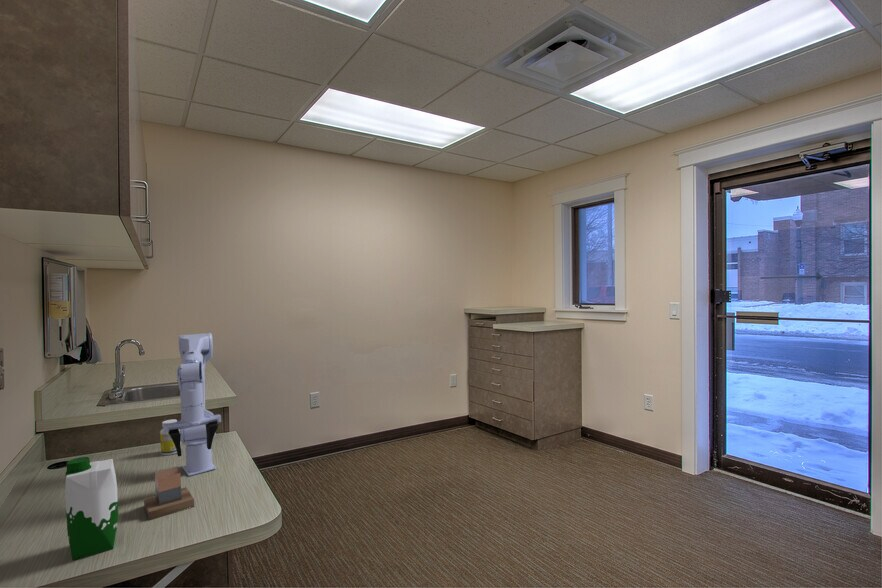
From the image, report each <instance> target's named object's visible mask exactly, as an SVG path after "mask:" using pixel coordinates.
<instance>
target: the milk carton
mask: <svg viewBox="0 0 882 588" xmlns="http://www.w3.org/2000/svg"><path fill="white" fill-rule="evenodd" d="M90 460H91V459H90V457H88V456H82V457H76V458H73V459H71V460H68V461H67V462H66V465H65V466H66V471H65V511H66V531H67V539H68V545H69V549H70V554H71V559H72V561H74V560H77V559H81V558H85V557H89V556H92V555H97V554H100V553H103V552H107V551H111V550H114V546H115V541H116V535H117V530H118V522H119V496H118V495H119V494H118V483H117V475H116V470H115V465H114V459H113V458H110V459H105V460H104V459H103V460H95V461H90Z"/></svg>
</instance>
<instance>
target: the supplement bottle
mask: <svg viewBox="0 0 882 588" xmlns="http://www.w3.org/2000/svg"><path fill="white" fill-rule="evenodd" d="M177 421H178V420H177V419H175V418H174V419H167V420H164V421H162V422H161V427H162V429H160V431H159V436H160V437H159V438H160V440H159V441H160V452H161V455H162V456H171V455H177V450H176V447H175V445H174V442H173V440H172V438H171V437H170V435H169V433H164V429H163V425H165V424H170V423H174V422H177ZM179 433H180V430H179ZM180 445H181V446H182V442H181V441H180Z"/></svg>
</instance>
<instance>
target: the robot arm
mask: <svg viewBox="0 0 882 588" xmlns="http://www.w3.org/2000/svg"><path fill="white" fill-rule="evenodd" d="M213 342H214V341H213V333H211V332H208V333H207V332H206V333H196V334H180V335H179V336H178V350H179V351H178V352H179V354H180V355H179V356H180V359H181V362H180V365H178V366H177V368H176V379H177V383H178V390H179V396H180V397H179V398H180V414H181V415H180V417H181V419H180V420H179V421H178V420H177V422H174V423H170V424H165V425H163V427H162V429H164V433H169V435H170V437H171V438H172V440H173V442H174V445H175V447H176V450H177V453H176V455H177V456H178V457H182V444H184V446H185V450H184V451H185V465H184V466H182V469H183V470H184V472H185V473H186V475H187V476H189V477H190V476H191V477H192V476H194V475H198V474H202V473H205V472H208V471H214V470H216V469H217V466H216V465H215V464H214V463H213V448H212V447H213V446H212V444H213V440H214V439H215V437H216V435H217V433H216V432H217V431H218V428H219V423H221V422H222V415H221V414H214V413H213V412H212V411H210V410H208V409H206V380H205V379H206V372H205V369H206V366H207V362H209V361H211V360H212V359H213V356H214V353H213V352H214V351H213V349H214V346H213V345H214V343H213ZM179 430H180V433H179ZM180 441H181V445H180Z"/></svg>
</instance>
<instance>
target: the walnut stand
mask: <svg viewBox="0 0 882 588" xmlns="http://www.w3.org/2000/svg"><path fill="white" fill-rule="evenodd" d="M181 497H182V500H179V501H175V502H172V503H168V504H165V505H161V506H159V504H158V502H157V500H156V495H154V496H149V497H146V498H143V507H144V510H145V513H146V514H147V517H148V520H149V521H151V520H154V519H158V518H161V517H165V516H167V515H171V514H175V513H179V512H182V511H184V509H185V510H188V509H190V508H189V507H191V508H194V507H195V499H194V497H193V495H192V494H191V492H190V490H189V489H188V488H187V487H183V488H182V487H181ZM193 506H194V507H193ZM187 508H188V509H187Z"/></svg>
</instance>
